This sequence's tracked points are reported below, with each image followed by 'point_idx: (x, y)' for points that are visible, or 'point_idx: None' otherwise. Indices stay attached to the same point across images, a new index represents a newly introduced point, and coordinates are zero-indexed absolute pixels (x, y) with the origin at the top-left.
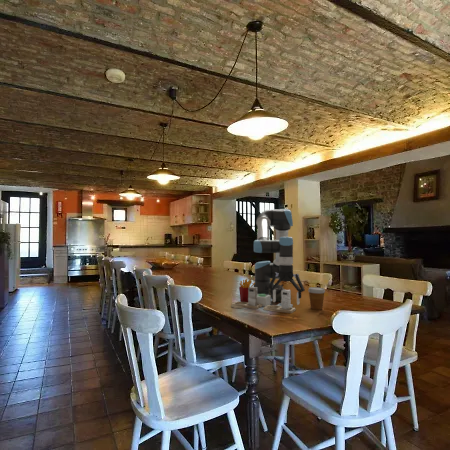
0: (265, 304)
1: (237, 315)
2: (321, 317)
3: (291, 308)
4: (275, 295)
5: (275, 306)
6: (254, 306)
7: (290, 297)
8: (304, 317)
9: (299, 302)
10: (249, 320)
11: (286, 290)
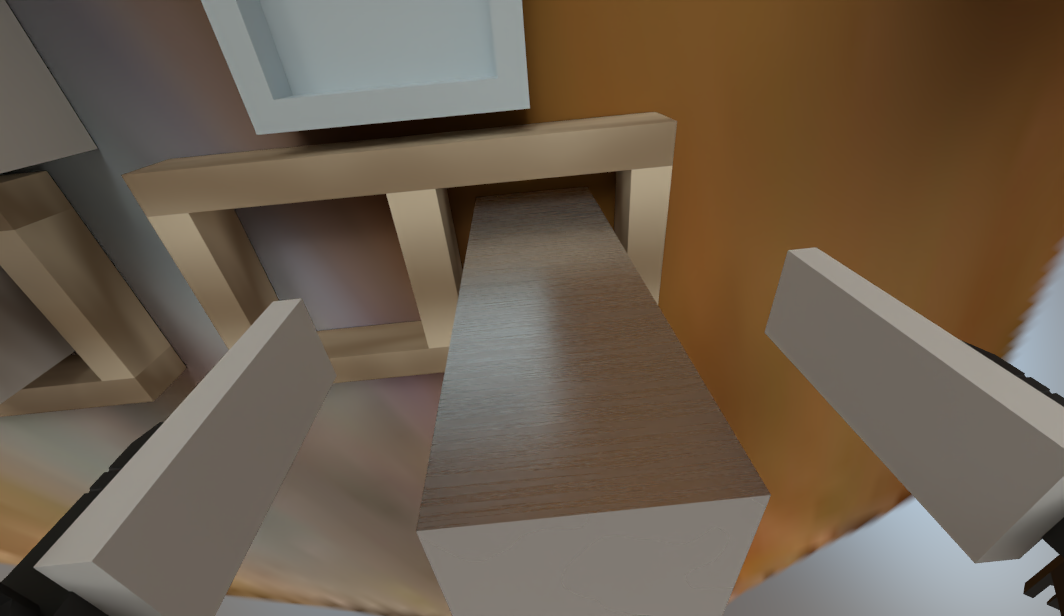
0: (33, 161)
1: (251, 559)
2: (1007, 244)
3: (602, 168)
4: (244, 412)
5: (300, 200)
6: (114, 402)
7: (656, 316)
8: None
9: (833, 265)
10: (420, 588)
11: (616, 599)
